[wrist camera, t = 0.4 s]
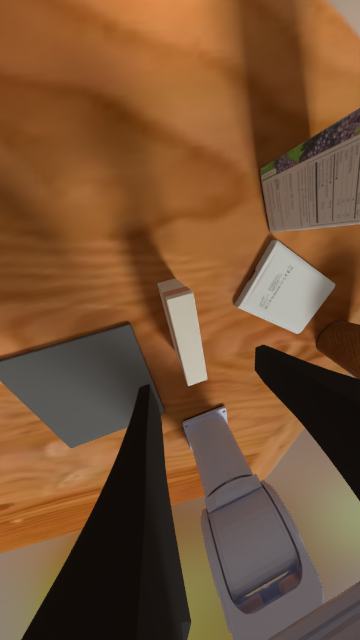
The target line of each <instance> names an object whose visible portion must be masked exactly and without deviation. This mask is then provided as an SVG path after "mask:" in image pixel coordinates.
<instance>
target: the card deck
mask: <svg viewBox="0 0 360 640" xmlns="http://www.w3.org/2000/svg"><path fill="white" fill-rule="evenodd" d="M157 285H158V289H159V292H160V296H161V300H162V304H163V307H164V311H165V315H166V319H167V322H168V326H169V330H170V334H171V337H172V341H173V345H174V349H175V352H176V355H177V357H178V360H179V363H180V365H181V368H182V371H183V374H184V377H185V379H186V382H187V384H188V386H191V385H194V384H196V383H199V382H202V381H205V380H207V373H206V367H205V361H204V355H203V349H202V343H201V336H200V330H199V324H198V318H197V312H196V306H195V299H194V293H193V292H192V291H191V290H190V289H189V288H187V287H186V286H184V285H183V284H182V283H181V282H179V281H178V280H177V279H176V278H175V279H171V280H167V281H163V282H159V283H157Z"/></svg>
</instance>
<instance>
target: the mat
mask: <svg viewBox="0 0 360 640" xmlns="http://www.w3.org/2000/svg"><path fill="white" fill-rule="evenodd" d="M0 381H1V382H2V383H3V384H4V385H5V386H6V387H7V388H8V389H9V390H10V391H12V392H13V393H14V394H15V395H16V396H17V397H18V398H19V399H20V400H21V401H22V402H23V403H24V404H25V405H26V406H27V407H28V408H29V409H30V410H31V411H32V412H33V413H34V414H35V415H37V416H38V417H39V418H40V419H41V420H42V421H43V422H44V423H45V424H46V425H47V426H48V427H49V428H50V429H51V430H52V431H53V432H54V433H55V434H56V435H57V436H58V437H59V438H60V439H62V440H63V441H64V442H65V443H66V444H67V445H68V446H69V447H70V448H73V447H76V446H78V445H81V444H84V443H86V442H89V441H92V440H94V439H97V438H100V437H102V436H105V435H108V434H110V433H113V432H116V431H118V430H121V429H124V428H126V427H128V425H129V422H130V419H131V416H132V413H133V409H134V406H135V402H136V398H137V394H138V389H139V388H140V387H142V386H145V385H147V384H150V386H151V388H152V390H153V393H154V395H155V398H156V400H157V403H158V405H159V411H160V415H161V414H164V413H165V410H164V408H163V405H162V403H161V400H160V398H159V395H158V393H157V390H156V388H155V385H154V382H153V380H152V377H151V375H150V372H149V370H148V367H147V365H146V362H145V360H144V357H143V355H142V352H141V350H140V347H139V345H138V342H137V339H136V337H135V334H134V332H133V329H132V327H131V324H130V323H129V324H126V325H122V326H119V327H115V328H112V329H108V330H105V331H101V332H98V333H94V334H91V335H87V336H84V337H80V338H77V339H73V340H70V341H66V342H63V343H59V344H56V345H52V346H49V347H45V348H42V349H38V350H35V351H31V352H28V353H24V354H21V355H17V356H14V357H10V358H7V359H3V360H0Z"/></svg>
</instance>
